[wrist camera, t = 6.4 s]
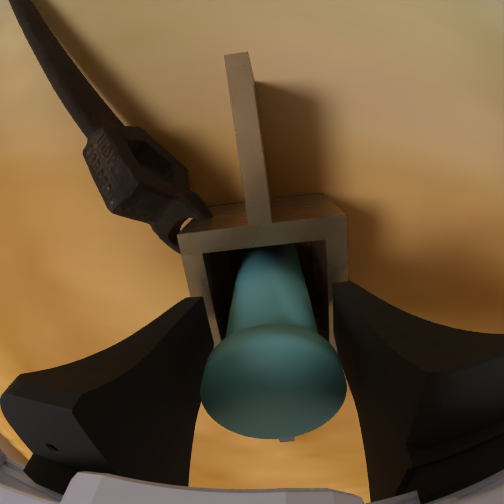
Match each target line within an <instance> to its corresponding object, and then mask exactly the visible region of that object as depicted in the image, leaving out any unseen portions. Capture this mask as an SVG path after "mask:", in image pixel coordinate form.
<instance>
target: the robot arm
mask: <svg viewBox="0 0 504 504" xmlns="http://www.w3.org/2000/svg"><path fill="white" fill-rule="evenodd" d="M332 288H333V333H334V338H335V343H336V347H337V352H338V356H339V359H340V362H341V364H342V367H343V370H344V373H345V376H346V379H347V381H348V384H349V387H350V390H351V393H352V396H353V399H354V402H355V405H356V409H357V412H358V417H359V422H360V427H361V433H362V438H363V444H364V450H365V457H366V464H367V471H368V479H369V489H370V500H371V503H366V504H504V334H487V333H479V332H472V331H466V330H461V329H456V328H451V327H448V326H444V325H440V324H436V323H433V322H430V321H427V320H424V319H422V318H419V317H416V316H414V315H411V314H409V313H407V312H404V311H402V310H400V309H398V308H396V307H394V306H392V305H390V304H389V303H387V302H385V301H383V300H381V299H380V298H378V297H376V296H374V295H373V294H371V293H370V292H368V291H366V290H365V289H363V288H361V287H360V286H358V285H357V284H355V283H353V282H351V281H344V282H336V283H332ZM213 349H214V341H213V337H212V333H211V328H210V324H209V320H208V316H207V311H206V307H205V303H204V298H203V296H200V297H188V298H185V299H183V300H182V301H180V302H178V303H177V304H176V305H174V306H173V307H171V308H170V309H169V310H167V311H166V312H165V313H163V314H162V315H161V316H159V317H158V318H156V319H155V320H154V321H152V322H151V323H149V324H148V325H146V326H145V327H143V328H142V329H140V330H139V331H137V332H136V333H134V334H133V335H131V336H129V337H128V338H126V339H124V340H123V341H121V342H119V343H117V344H115V345H113V346H111V347H109V348H107V349H105V350H103V351H100V352H98V353H96V354H93V355H91V356H88V357H86V358H84V359H81V360H78V361H75V362H72V363H69V364H66V365H62V366H59V367H55V368H51V369H46V370H41V371H36V372H30V373H24V374H20V375H19V376H18V377H17V378H16V379H15V380H14V381H13V382H12V384H11V385H10V386H9V387H8V388H7V389H6V391H5V392H4V393H3V394H2V395H1V398H0V405H1V410H2V412H3V414H4V416H5V418H6V420H7V421H8V423H9V424H10V426H11V427H12V428H13V429H14V431H15V432H16V433H17V435H18V436H19V437H20V438H21V440H22V441H23V442H24V443H25V444H26V446H27V447H28V448H29V449H30V450H31V451H32V453H33V455H32V457H31V458H30V460H29V462H28V463H27V465H26V466H24V465H21V464H19V463H17V462H15V461H13V460H11V459H9V458H7V457H6V455H5V454H4V453H3V451H2V450H1V449H0V504H364V502H363V500H362V498H361V497H358V496H356V495H354V494H350V493H345V492H341V491H337V490H333V489H329V488H278V489H213V488H198V487H188V483H189V470H190V460H191V451H192V443H193V437H194V430H195V423H196V419H197V415H198V411H199V408H200V404H201V397H200V388H201V383H202V378H203V374H204V370H205V365H206V362H207V359H208V357H209V355H210V353H211V352H212V350H213Z"/></svg>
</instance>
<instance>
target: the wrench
mask: <svg viewBox="0 0 504 504" xmlns="http://www.w3.org/2000/svg"><path fill="white" fill-rule="evenodd" d="M9 2H10V5H11V7H12V9H13V11H14V14H15V16H16V18H17V20H18V23H19V25H20V27H21V28H22V30H23V33H24V35H25V37H26V39H27V41H28V43H29V45H30V46H31V48H32V50H33V52H34V54H35V56H36V58H37V59H38V61H39V63H40V65H41V67H42V69H43V71H44V72H45V74H46V76H47V78H48V80H49V81H50V83H51V85H52V87H53V89H54V90H55V92H56V93H57V95H58V97H59V98H60V100H61V101H62V103H63V104H64V106H65V107H66V109H67V110H68V112H69V113H70V115H71V116H72V118H73V119H74V121H75V122H76V123H77V125H78V126H79V128H80V129H81V130H82V132H83V133H84V135H85V136H86V137H87V145H86V147H85V148H84V150H83V156H84V158H85V161H86V163H87V165H88V167H89V170H90V173H91V175H92V177H93V179H94V181H95V184H96V186H97V188H98V190H99V192H100V194H101V196H102V198H103V200H104V202H105V204H106V206H107V208H108V209H109V210H110V211H111V212H112V213H113V214H116V215H119V216H123V217H126V218H130V219H134V220H137V221H142V222H145V223H148V224H150V226H151V227H152V229H153V231H154V232H155V233H156V234H157V235H158V236H159V238H160V239H161V240H162V241H163V242H164V243H166V244H167V245H168V246H169V247H171V248H172V249H173V250H175V251H176V252H178V253H180V254H181V252H180V248H179V243H178V238H177V234H178V233H179V232H180V228H181V225H182V224H183V222H184V221H186V220H187V219H188V218H194V219H196V220H198V221H205V220H208V219H210V218H212V217H213V214H212V213H211V211H210V210H209V208H208V206H207V205H206V203H205V202H204V201H203V200H202V199H201V198H200V196H199V195H198V194H196V193H195V192H193V191H190V189H189V183H188V177H187V172H188V171H187V169H186V168H185V167H184V166H183V165H182V164H181V163H180V162H179V161H177V160H176V159H175V158H174V157H173V156H172V155H170V154H169V153H168V152H167V151H166V150H165V149H164V148H163V147H162V146H160V145H159V144H158V143H157V142H156V141H155V140H154V139H152V138H151V137H150V136H149V135H148V134H147V133H146V132H145V131H144V130H143V129H142V128H140V127H138V126H136V127H134V126H124V125H123V123H122V122H121V121H120V120H119V119H118V118H117V116H116V115H115V114H114V113H113V112H112V110H111V109H110V108H109V107H108V106H107V104H106V103H105V102H104V101H103V99H102V98H101V97H100V96H99V95H98V93H97V92H96V91H95V90H94V88H93V87H92V86H91V85H90V83H89V82H88V81H87V79H86V78H85V77H84V75H83V74H82V73H81V72H80V70H79V69H78V68H77V66H76V65H75V64H74V62H73V61H72V59H71V58H70V57H69V55H68V54H67V53H66V51H65V50H64V49H63V47H62V46H61V44H60V43H59V42H58V40H57V39H56V37H55V36H54V34H53V33H52V32H51V30H50V29H49V27H48V26H47V24H46V23H45V21H44V20H43V18H42V17H41V15H40V14H39V12H38V10H37V9H36V7H35V6H34V4H33V3H32V1H31V0H9Z"/></svg>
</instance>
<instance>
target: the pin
mask: <svg viewBox="0 0 504 504" xmlns="http://www.w3.org/2000/svg"><path fill="white" fill-rule="evenodd" d="M346 392H347V384H346V379H345V376H344V372H343V369H342V365H341V362H340V359H339V356H338V354H337V352H336V350H335V349H334V347H333V346H332V345H331V344H330V343H329V342H328V341H327V340H326V339H324V338H323V337H322V336H320V335H319V334H318V330H317V326H316V322H315V318H314V314H313V310H312V306H311V302H310V299H309V295H308V291H307V287H306V283H305V280H304V276H303V272H302V268H301V265H300V261H299V257H298V254H297V250H296V247H295V245H294V244H293V243H289V244H280V245H271V246H262V247H254V248H245V249H242V250H241V255H240V260H239V265H238V271H237V276H236V282H235V287H234V292H233V298H232V303H231V309H230V314H229V320H228V326H227V331H226V337H225V339H224V340H222V341H221V342H220V343H219V344H218V345H217V346H216V347H215V348H214V349H213V350H212V352H211V353H210V355H209V357H208V359H207V362H206V365H205V370H204V374H203V378H202V383H201V388H200V397H201V401H202V404H203V406H204V408H205V410H206V411H207V413H208V414H209V415H210V416H211V417H212V418H213V419H214V420H215V421H216V422H217V423H218V424H220V425H221V426H223V427H225V428H226V429H228V430H230V431H233V432H235V433H238V434H241V435H244V436H248V437H253V438H260V439H282V438H289V437H294V436H298V435H302V434H305V433H307V432H310V431H312V430H314V429H316V428H318V427H320V426H321V425H323V424H325V423H326V422H327V421H329V420H330V419H331V418H332V417H333V416H334V415H335V414H336V413H337V412H338V410H339V409H340V408H341V406H342V404H343V402H344V400H345V397H346Z"/></svg>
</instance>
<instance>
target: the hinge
mask: <svg viewBox="0 0 504 504" xmlns="http://www.w3.org/2000/svg"><path fill="white" fill-rule="evenodd" d="M224 59H225V66H226V72H227V79H228V86H229V93H230V100H231V107H232V114H233V121H234V128H235V135H236V141H237V148H238V155H239V162H240V169H241V176H242V183H243V190H244V197H245V202H240V203H232V204H225V205H217V206H210V207H208V208H209V210H210V211H211V213H212V214H213V217H212V218H210V219H208V220H205V221H198V220H196V219H194V218H193V219H192V220H191V221H190V222H189V223H188V224H187V225H186V226H185V227H184V228H183V229H182V230H181V231H180V232H179V233H178V234H177V238H178V243H179V248H180V252H181V257H182V261H183V266H184V270H185V275H186V279H187V283H188V288H189V292H190V296H191V297H200V296H203V298H204V303H205V307H206V311H207V316H208V320H209V324H210V328H211V333H212V337H213V341H214V348H215V347H216V346H217V345H218V344H219V343H220V342H221V341H222V340H224V339H225V337H226V331H227V326H228V320H229V314H230V309H231V303H232V298H233V292H234V287H233V281H232V275H231V270H230V264H229V258H228V252H227V250H236V249H245V248H254V247H262V246H271V245H280V244H289V243H298V242H307V241H311V244H312V257H313V271H314V287H315V289H311V290H307V291H308V295H309V299H310V302H311V306H312V310H313V314H314V318H315V322H316V326H317V330H318V334H319V335H320V336H322V337H323V338H324V339H326V340H327V341H328V342H329V343H330V344H331V345H332V346H333V347H334V349H335V350H336V352H337V347H336V343H335V338H334V333H333V288H332V283H336V282H344V281H349V268H348V237H347V218H346V214H345V213H344V212H343V211H342V210H341V209H339V208H338V207H337V206H336V205H335V204H334V203H333V202H332V201H331V200H330V199H329V198H328V197H327V196H325V195H324V194H323V193H318V194H308V195H299V196H289V197H281V198H272V199H271V194H270V186H269V178H268V171H267V163H266V156H265V149H264V141H263V134H262V127H261V120H260V113H259V106H258V100H257V93H256V86H255V80H254V76H253V71H252V67H251V63H250V59H249V54H248V52H242V53H236V54H229V55H224ZM337 354H338V352H337ZM279 440H280V442H288V441H294V437H289V438H282V439H279Z"/></svg>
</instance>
